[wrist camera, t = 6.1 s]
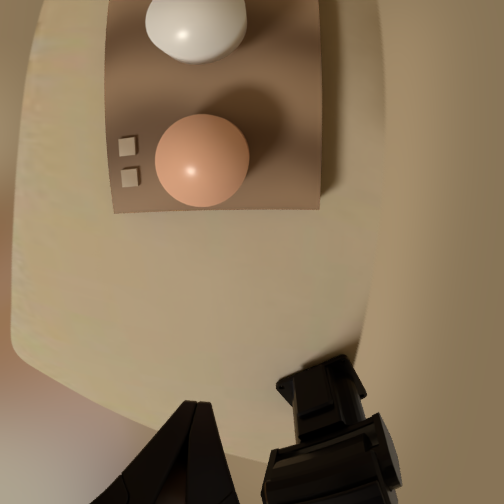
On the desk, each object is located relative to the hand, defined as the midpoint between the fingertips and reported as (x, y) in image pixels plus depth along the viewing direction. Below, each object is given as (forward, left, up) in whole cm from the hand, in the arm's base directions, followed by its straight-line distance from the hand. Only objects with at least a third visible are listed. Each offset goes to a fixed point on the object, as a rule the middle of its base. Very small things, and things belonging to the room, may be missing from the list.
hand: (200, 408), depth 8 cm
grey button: (+12, -6, -9) cm, 16 cm away
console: (+12, -6, -12) cm, 18 cm away
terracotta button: (+6, -2, -10) cm, 12 cm away
